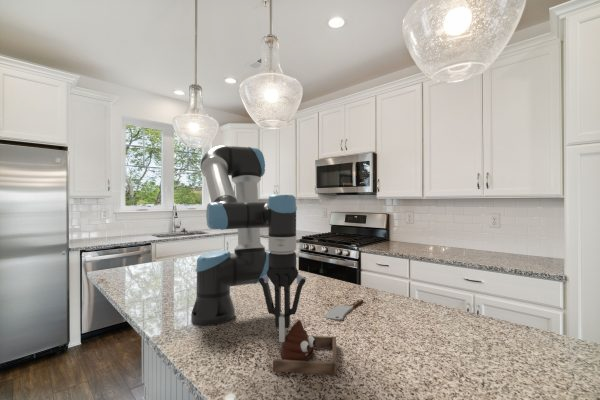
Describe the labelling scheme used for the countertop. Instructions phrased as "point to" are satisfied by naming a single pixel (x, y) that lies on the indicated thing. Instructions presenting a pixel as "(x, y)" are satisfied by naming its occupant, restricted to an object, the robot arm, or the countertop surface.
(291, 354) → the poop emoji
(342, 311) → the kitchen cleaver
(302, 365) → the walnut corral
